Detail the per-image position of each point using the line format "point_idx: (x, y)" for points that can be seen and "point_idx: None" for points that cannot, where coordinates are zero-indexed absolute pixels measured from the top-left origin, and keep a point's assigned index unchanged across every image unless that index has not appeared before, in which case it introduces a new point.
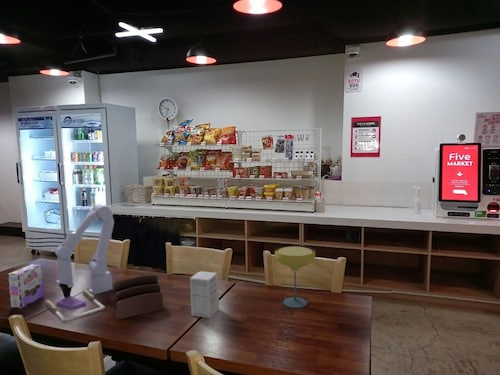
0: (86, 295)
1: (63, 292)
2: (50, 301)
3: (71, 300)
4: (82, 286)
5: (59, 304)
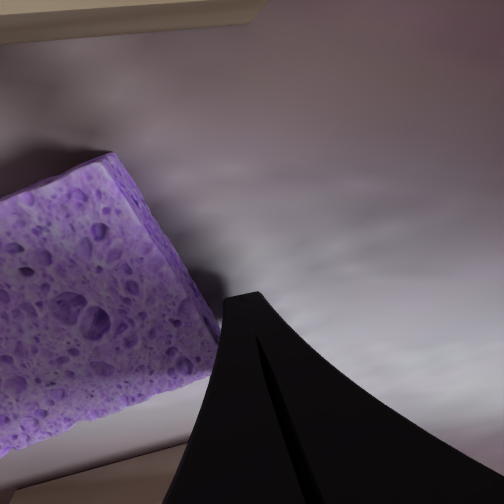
0: (179, 459)
1: (234, 377)
2: (88, 4)
3: (25, 379)
4: (450, 402)
5: (8, 196)
